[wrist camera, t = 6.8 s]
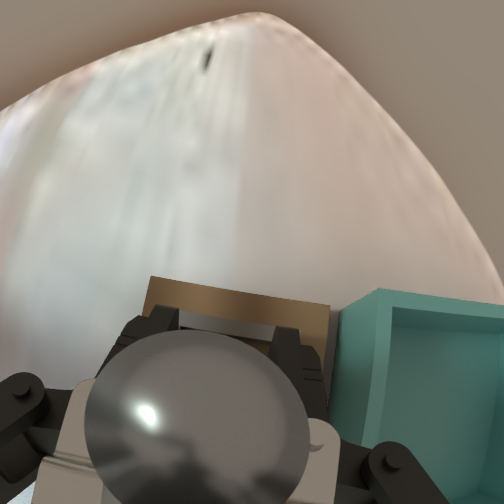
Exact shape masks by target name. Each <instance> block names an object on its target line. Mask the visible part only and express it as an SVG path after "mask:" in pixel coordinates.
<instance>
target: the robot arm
mask: <svg viewBox="0 0 504 504" xmlns="http://www.w3.org/2000/svg"><path fill="white" fill-rule="evenodd" d="M175 330H179V308H176V307H171V306H166V305H161V304H156V305H155V306H154V308H153V310H152V311H151V313H150V315H149V317H145V316H140V315H138V316H137V317H135V318H134V319H132V320H131V321H129V322H128V323H127V324H126V326H125V327H124V329H123V331H122V332H121V335H120V336H119V337H118V339H117V341H116V342H115V345H114V346H113V347H112V349H111V351H110V352H109V354H108V356H107V357H106V359H105V361H104V363H103V364H102V366H101V368H100V370H99V371H98V373H97V375H96V376H95V378H94V379H88V380H85V381H83V382H81V383H80V384H78V385H77V386H76V387H75V389H74V390H58V389H47V388H45V387H44V385H43V383H42V381H41V380H40V379H39V378H38V377H37V376H36V375H34V374H31V373H26V372H21V373H16V374H14V375H12V376H10V377H8V378H7V379H5V380H4V381H2V382H0V504H7V503H8V502H9V501H10V500H12V499H13V498H14V497H16V496H17V495H18V494H19V493H21V492H22V491H23V490H24V489H26V488H27V487H28V486H29V485H31V484H32V483H33V482H34V481H36V483H35V488H34V492H33V497H32V502H31V504H122V503H121V502H120V501H118V500H117V499H116V498H115V497H114V495H113V494H112V493H111V492H110V491H109V490H108V489H107V487H106V486H105V485H104V483H103V482H102V480H101V479H100V477H99V476H98V474H97V472H96V470H95V468H94V466H93V464H92V461H91V459H90V456H89V453H88V450H87V445H86V441H85V432H84V416H85V408H86V403H87V399H88V396H89V393H90V391H91V388H92V386H93V384H94V382H95V380H96V378H97V376H98V375H99V373H100V372H101V371H102V369H103V368H104V367H105V365H106V364H107V363H108V362H109V361H110V360H111V359H112V358H113V357H114V356H115V355H116V354H118V353H119V352H120V351H122V350H123V349H124V348H126V347H127V346H129V345H131V344H133V343H135V342H136V341H138V340H141V339H143V338H146V337H148V336H151V335H154V334H158V333H162V332H166V331H175ZM268 358H269V359H270V360H271V361H272V362H273V363H275V364H276V365H277V366H278V367H279V368H280V369H281V370H282V371H283V373H284V374H285V375H286V376H287V377H288V378H289V380H290V381H291V383H292V384H293V386H294V387H295V389H296V390H297V392H298V394H299V396H300V398H301V400H302V402H303V405H304V408H305V411H306V414H307V417H308V423H309V428H310V450H309V458H308V461H307V465H306V469H305V472H304V474H303V476H302V478H301V480H300V483H299V484H298V486H297V487H296V489H295V490H294V492H293V493H292V495H291V496H290V497H289V498H288V499H287V501H286V502H285V503H284V504H450V503H449V502H448V500H447V499H446V498H445V496H444V495H443V494H442V492H441V491H440V490H439V488H438V487H437V486H436V484H435V483H434V482H433V480H432V479H431V478H430V476H429V475H428V474H427V472H426V471H425V470H424V468H423V467H422V466H421V464H420V463H419V462H418V460H417V459H416V458H415V456H414V455H413V454H412V453H411V451H410V450H409V449H408V448H407V447H405V446H404V445H402V444H400V443H397V442H393V441H386V442H382V443H379V444H377V445H376V446H375V447H374V448H373V449H370V448H366V447H363V446H359V445H356V444H352V443H349V442H347V441H345V440H343V439H342V438H340V437H339V435H338V433H337V431H336V430H335V429H334V428H333V427H332V426H331V425H330V423H329V418H328V410H327V403H326V395H325V388H324V383H323V374H322V367H321V361H320V357H319V355H318V354H317V352H316V351H315V349H314V348H313V346H308V345H301V343H300V332H299V329H297V328H290V327H284V326H277V325H276V327H275V330H274V334H273V338H272V341H271V345H270V349H269V353H268Z"/></svg>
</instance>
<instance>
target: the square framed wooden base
mask: <svg viewBox="0 0 504 504" xmlns="http://www.w3.org/2000/svg"><path fill="white" fill-rule="evenodd" d="M156 304H161V305H166V306H171V307H176V308H179V330H201V331H209V332H214V333H218V334H222V335H226V336H229V337H231V338H234V339H237V340H239V341H242V342H243V343H245V344H247V345H249V346H251V347H253V348H255V349H256V350H258V351H259V352H261V353H262V354H264V355H265V356H266V357H268V353H269V349H270V345H271V341H272V338H273V334H274V330H275V327H276V325H277V326H284V327H290V328H297V329H299V332H300V343H301V345H308V346H313V348H314V349H315V351H316V352H317V354H318V355H319V357H320V361H321V367H322V374H323V367H324V360H325V352H326V343H327V334H328V325H329V315H330V305H324V304H317V303H310V302H303V301H296V300H290V299H283V298H276V297H270V296H264V295H257V294H251V293H245V292H239V291H233V290H227V289H221V288H215V287H210V286H204V285H198V284H193V283H187V282H182V281H176V280H171V279H166V278H160V277H155V276H151V277H150V282H149V286H148V290H147V294H146V299H145V303H144V308H143V312H142V316H145V317H149V315H150V313H151V311H152V310H153V308H154V306H155V305H156Z"/></svg>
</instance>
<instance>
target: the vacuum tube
mask: <svg viewBox="0 0 504 504" xmlns="http://www.w3.org/2000/svg"><path fill="white" fill-rule="evenodd" d="M84 432H85V441H86V445H87V450H88V453H89V456H90V459H91V461H92V464H93V466H94V468H95V470H96V472H97V474H98V476H99V477H100V479H101V480H102V482H103V483H104V485H105V486H106V487H107V489H108V490H109V491H110V492H111V493H112V494H113V495H114V497H115V498H116V499H117V500H118V501H120V502H121V503H122V504H284V503H285V502H286V501H287V499H288V498H289V497H290V496H291V495H292V493H293V492H294V490H295V489H296V487H297V486H298V484H299V483H300V480H301V478H302V476H303V474H304V472H305V469H306V465H307V461H308V458H309V450H310V428H309V423H308V417H307V414H306V411H305V408H304V405H303V402H302V400H301V398H300V396H299V394H298V392H297V390H296V389H295V387H294V386H293V384H292V383H291V381H290V380H289V378H288V377H287V376H286V375H285V374H284V373H283V371H282V370H281V369H280V368H279V367H278V366H277V365H276V364H275V363H273V362H272V361H271V360H270V359H269V358H268V357H266V356H265V355H264V354H262V353H261V352H259V351H258V350H256V349H255V348H253V347H251V346H249V345H247V344H245V343H243V342H242V341H239V340H237V339H234V338H231V337H229V336H226V335H222V334H218V333H214V332H209V331H201V330H175V331H166V332H162V333H158V334H154V335H151V336H148V337H146V338H143V339H141V340H138V341H136V342H135V343H133V344H131V345H129V346H127V347H126V348H124V349H123V350H122V351H120V352H119V353H118V354H116V355H115V356H114V357H113V358H112V359H111V360H110V361H109V362H108V363H107V364H106V365H105V367H104V368H103V369H102V371H101V372H100V373H99V375H98V376H97V378H96V380H95V382H94V384H93V386H92V388H91V391H90V393H89V396H88V399H87V403H86V408H85V416H84Z"/></svg>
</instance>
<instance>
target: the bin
mask: <svg viewBox="0 0 504 504" xmlns="http://www.w3.org/2000/svg"><path fill="white" fill-rule="evenodd" d="M328 418H329V423H330V425H331V426H332V427H333V428H334V429H335V430H336V431H337V433H338V435H339V437H340V438H342V439H343V440H345V441H347V442H349V443H352V444H356V445H359V446H363V447H366V448H370V449H373V448H374V447H375V446H376V445H377V444H379V443H382V442H386V441H393V442H397V443H400V444H402V445H404V446H405V447H407V448H408V449H409V450H410V451H411V453H412V454H413V455H414V456H415V458H416V459H417V460H418V462H419V463H420V464H421V466H422V467H423V468H424V470H425V471H426V472H427V474H428V475H429V476H430V478H431V479H432V480H433V482H434V483H435V484H436V486H437V487H438V488H439V490H440V491H441V492H442V494H443V495H444V496H445V498H446V499H447V500H448V502H449V503H450V504H504V306H503V305H496V304H488V303H480V302H473V301H465V300H458V299H451V298H443V297H436V296H429V295H422V294H415V293H408V292H401V291H394V290H387V289H380V288H378V289H376V290H375V291H373V292H371V293H370V294H368V295H366V296H365V297H363V298H361V299H360V300H358V301H356V302H354V303H353V304H351V305H349V306H347V307H346V308H344V309H342V310H340V312H339V323H338V333H337V343H336V351H335V360H334V368H333V376H332V383H331V390H330V397H329V404H328Z"/></svg>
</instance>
